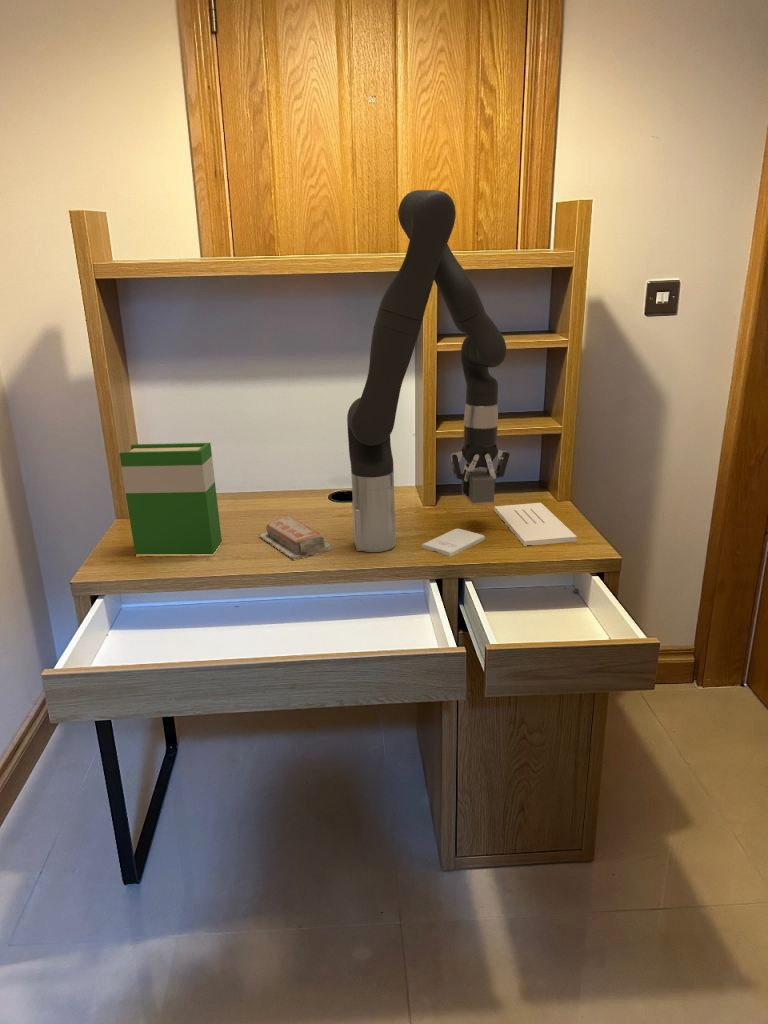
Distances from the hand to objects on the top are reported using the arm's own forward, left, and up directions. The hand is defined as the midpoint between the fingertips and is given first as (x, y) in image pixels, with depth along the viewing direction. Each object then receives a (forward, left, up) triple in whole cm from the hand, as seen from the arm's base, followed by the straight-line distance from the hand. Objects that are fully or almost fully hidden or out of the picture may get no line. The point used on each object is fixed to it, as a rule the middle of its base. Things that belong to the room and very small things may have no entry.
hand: (478, 494), depth 176 cm
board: (+13, -3, -8) cm, 15 cm away
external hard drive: (-8, -10, -9) cm, 15 cm away
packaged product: (-43, -1, -9) cm, 44 cm away
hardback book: (-69, 0, -8) cm, 70 cm away
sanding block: (0, 0, -1) cm, 1 cm away
